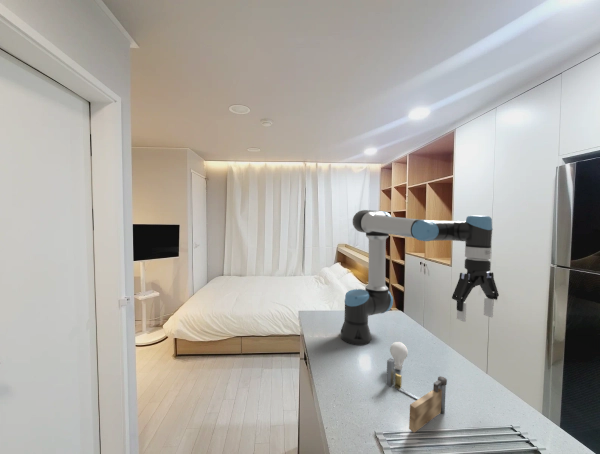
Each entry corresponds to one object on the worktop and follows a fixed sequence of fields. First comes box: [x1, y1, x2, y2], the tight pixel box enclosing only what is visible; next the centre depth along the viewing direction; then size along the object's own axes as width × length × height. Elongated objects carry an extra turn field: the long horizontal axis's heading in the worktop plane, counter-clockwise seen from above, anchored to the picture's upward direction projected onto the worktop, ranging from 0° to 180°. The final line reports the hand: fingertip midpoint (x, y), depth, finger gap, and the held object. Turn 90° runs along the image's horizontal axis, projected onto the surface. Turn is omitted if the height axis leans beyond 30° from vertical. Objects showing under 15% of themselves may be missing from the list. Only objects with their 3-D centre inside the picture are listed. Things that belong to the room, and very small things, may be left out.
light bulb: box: [389, 341, 409, 371], centre depth 99 cm, size 7×7×11 cm
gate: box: [408, 375, 448, 433], centre depth 74 cm, size 17×2×10 cm, turn 123°
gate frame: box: [385, 357, 447, 415], centre depth 84 cm, size 19×3×9 cm, turn 43°
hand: (475, 318), depth 89 cm, fingers open, 13 cm apart
